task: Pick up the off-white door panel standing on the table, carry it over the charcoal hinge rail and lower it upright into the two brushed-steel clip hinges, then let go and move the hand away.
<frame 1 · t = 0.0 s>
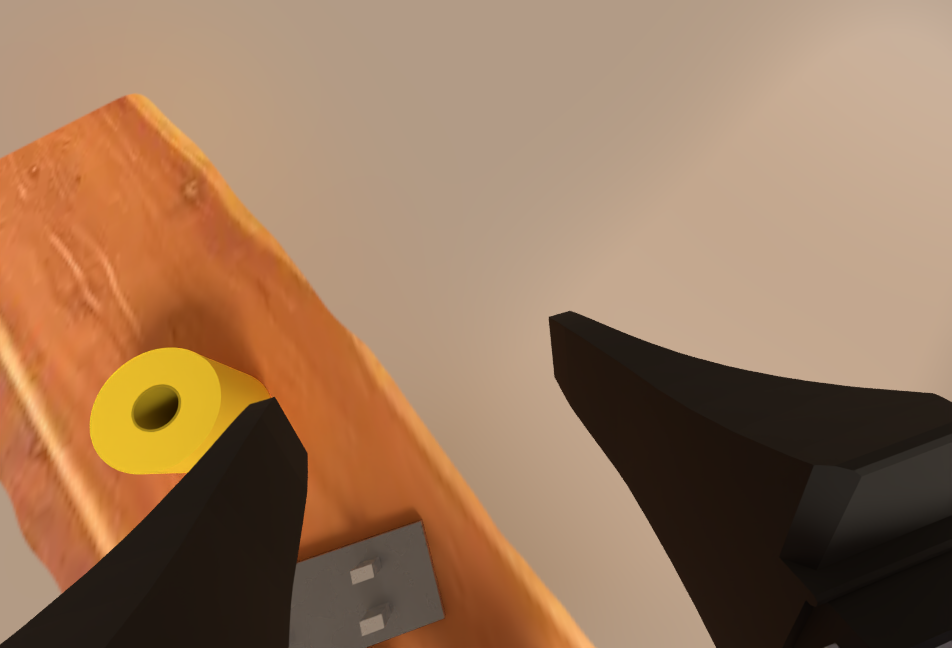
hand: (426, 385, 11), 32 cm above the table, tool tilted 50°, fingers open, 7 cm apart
tape roll: (224, 420, 42), on the table
hinge rail: (325, 603, 36), on the table
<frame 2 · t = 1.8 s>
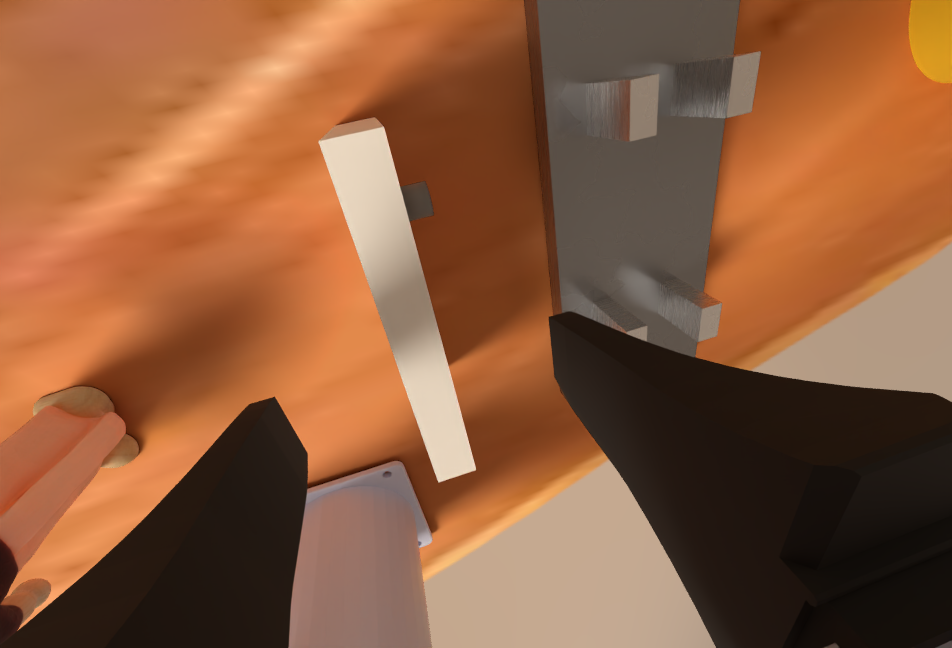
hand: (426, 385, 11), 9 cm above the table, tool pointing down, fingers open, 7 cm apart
hinge rail: (623, 209, 19), on the table
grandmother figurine: (88, 415, 18), on the table
cabinet door: (399, 267, 18), on the table
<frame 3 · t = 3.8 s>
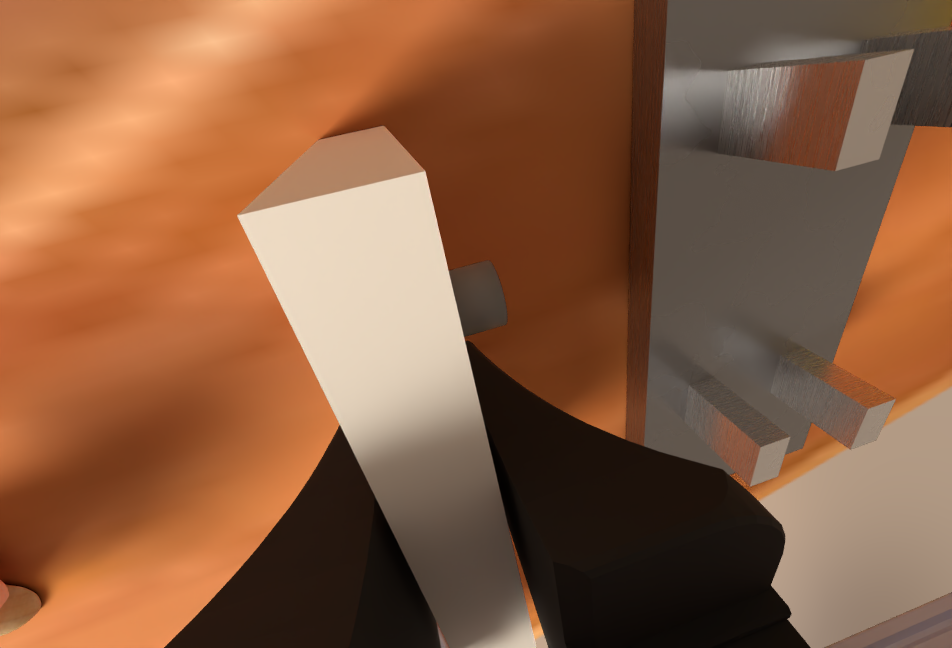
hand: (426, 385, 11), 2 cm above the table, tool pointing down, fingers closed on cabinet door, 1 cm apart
hinge rail: (737, 255, 14), on the table
cabinet door: (417, 347, 12), on the table, touching gripper
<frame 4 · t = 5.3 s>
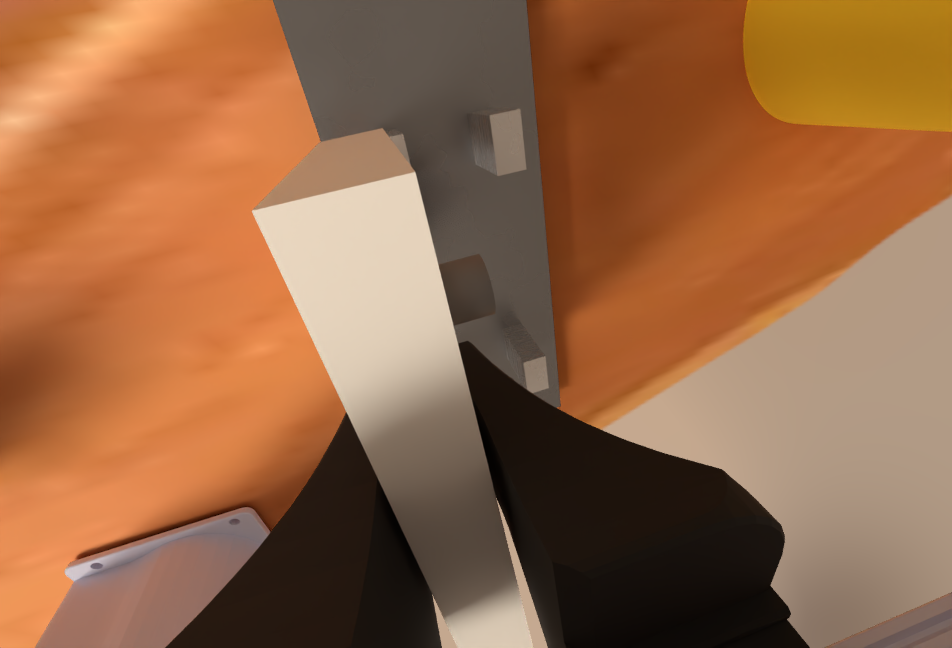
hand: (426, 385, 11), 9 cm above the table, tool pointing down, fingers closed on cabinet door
hinge rail: (455, 254, 19), on the table
cabinet door: (415, 341, 13), point 7 cm above the table, touching gripper
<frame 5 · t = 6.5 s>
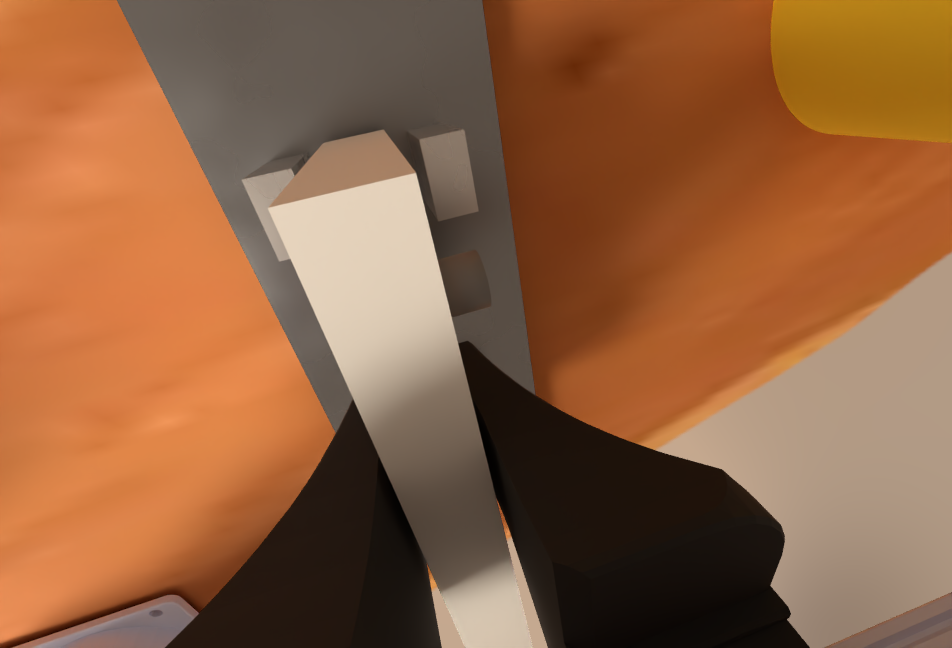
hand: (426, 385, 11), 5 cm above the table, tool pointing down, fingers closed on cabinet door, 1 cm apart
hinge rail: (407, 302, 15), on the table
cabinet door: (415, 335, 13), point 2 cm above the table, touching gripper
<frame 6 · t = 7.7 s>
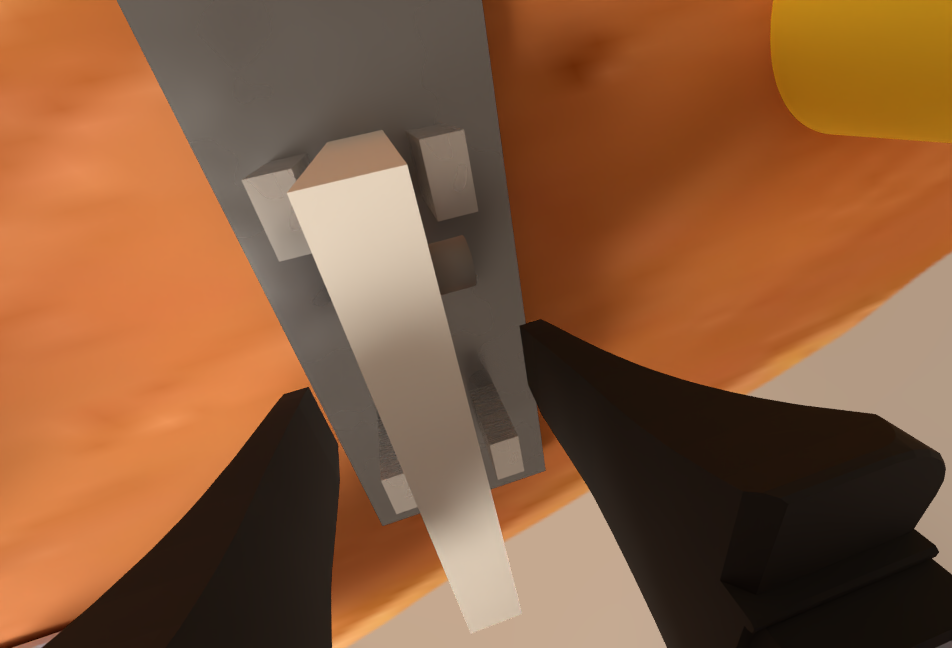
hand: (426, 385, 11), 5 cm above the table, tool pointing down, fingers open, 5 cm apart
hinge rail: (407, 302, 15), on the table
cabinet door: (412, 322, 14), point 1 cm above the table, touching hinge rail
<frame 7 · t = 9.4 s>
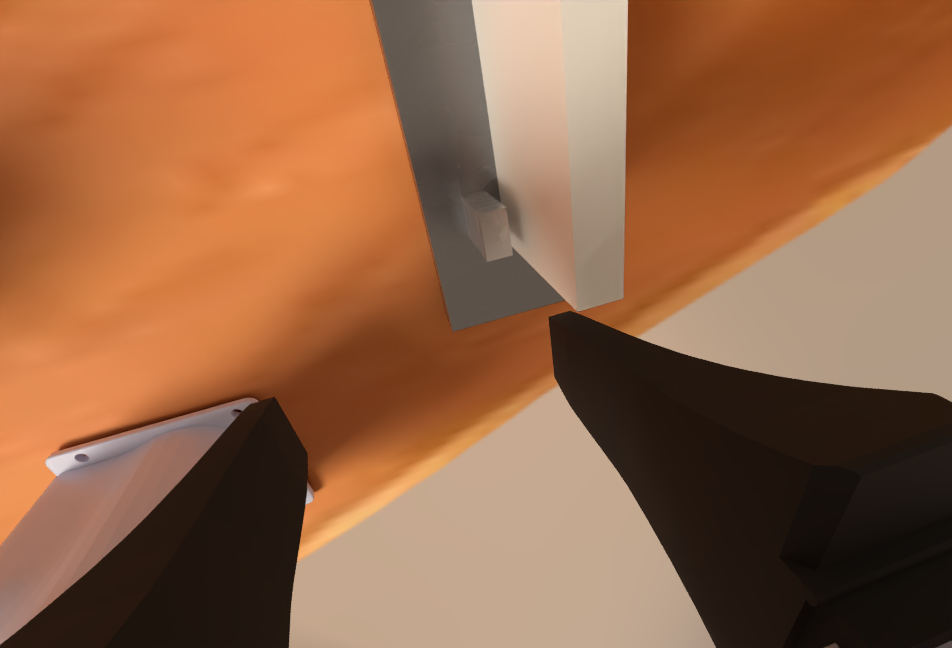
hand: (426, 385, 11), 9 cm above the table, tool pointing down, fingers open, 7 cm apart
hinge rail: (493, 77, 16), on the table
cabinet door: (503, 82, 15), point 1 cm above the table, touching hinge rail
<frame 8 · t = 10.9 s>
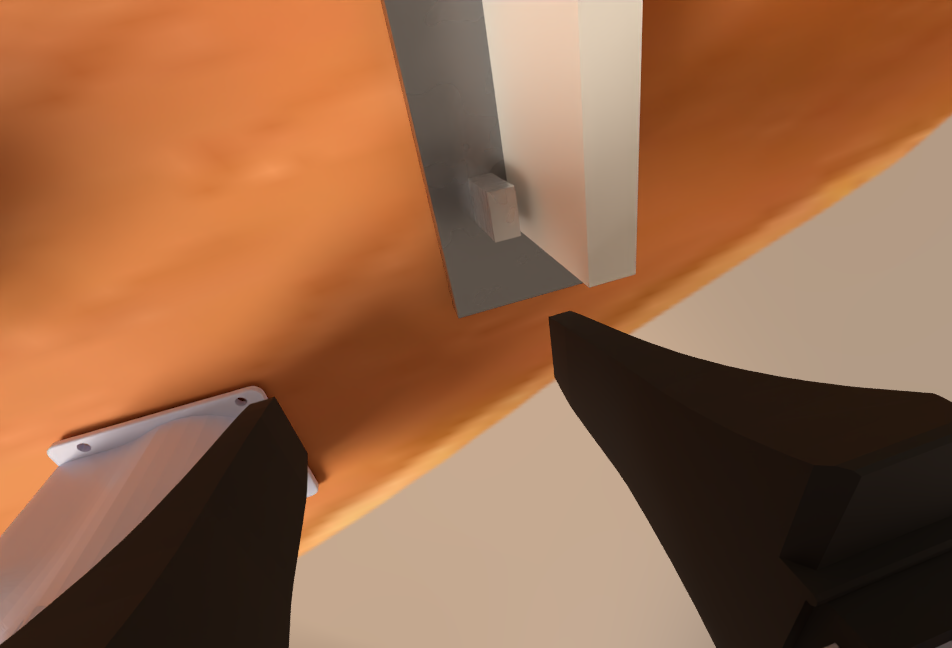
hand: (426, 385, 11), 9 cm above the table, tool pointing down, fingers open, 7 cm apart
hinge rail: (500, 57, 16), on the table
cabinet door: (510, 61, 15), point 1 cm above the table, touching hinge rail
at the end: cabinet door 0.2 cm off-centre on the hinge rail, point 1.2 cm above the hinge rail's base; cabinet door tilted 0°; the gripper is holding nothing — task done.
